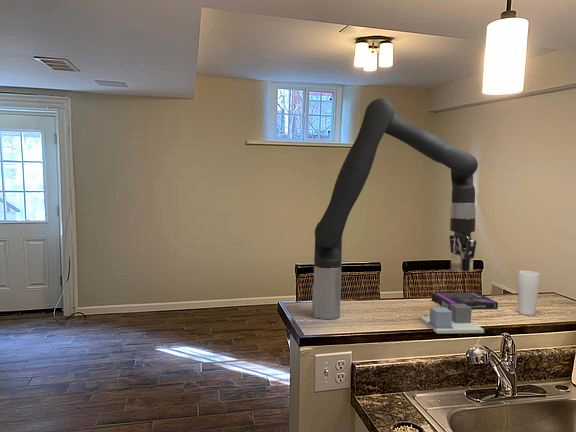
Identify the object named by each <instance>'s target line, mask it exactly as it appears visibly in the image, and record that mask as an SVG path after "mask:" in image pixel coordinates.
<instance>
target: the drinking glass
mask: <svg viewBox="0 0 576 432" xmlns="http://www.w3.org/2000/svg"><path fill="white" fill-rule="evenodd" d="M540 277H541V275H540V273H539V272H537V271H533V270H519V271H518V274H517V298H518V299H517V300H518V308H517V310H518V313H519V314H520V315H522V316H535V315H536V311H537V310H536V307H537V303H538V295H539V289H540V279H541V278H540Z"/></svg>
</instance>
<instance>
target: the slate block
mask: <svg viewBox="0 0 576 432" xmlns="http://www.w3.org/2000/svg"><path fill="white" fill-rule="evenodd" d="M429 316H430V323H431V324H432V325H433V326H434V327H436V328H452V311H450V310H449V309H447V308H446V307H442V306H441V307H440V306H439V307H435V306H434V307H430V308H429Z"/></svg>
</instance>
